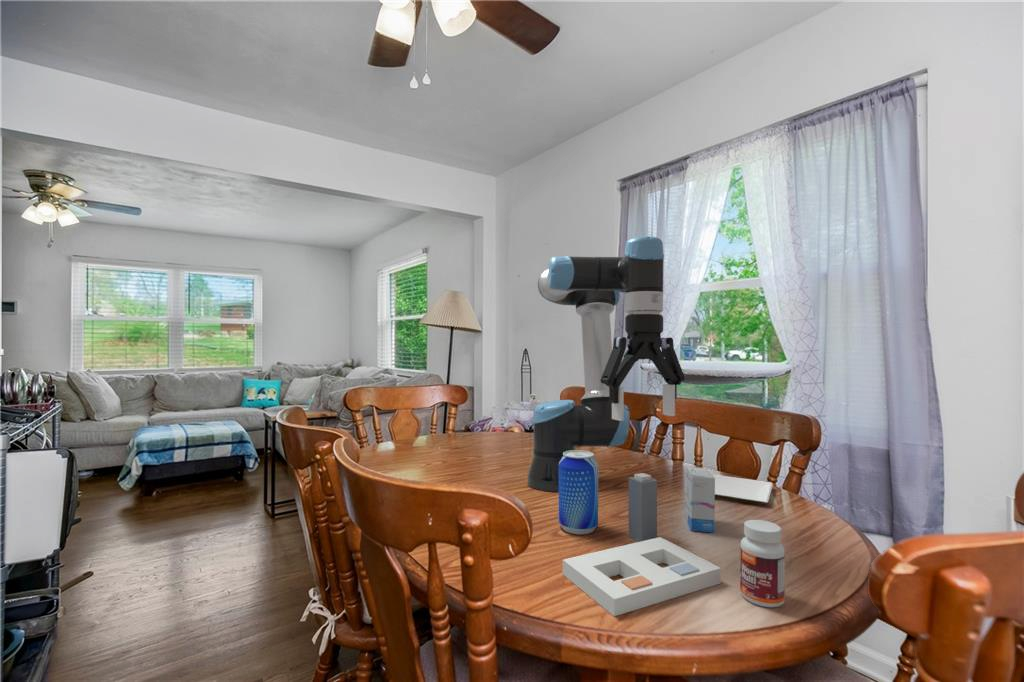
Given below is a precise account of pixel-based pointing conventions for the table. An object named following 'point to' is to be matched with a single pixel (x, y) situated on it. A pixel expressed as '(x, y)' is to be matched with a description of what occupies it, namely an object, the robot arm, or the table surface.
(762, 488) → the plate
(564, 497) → the beer can
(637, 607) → the socket board
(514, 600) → the table surface
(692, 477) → the ink box
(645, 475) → the plug
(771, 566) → the pill bottle
